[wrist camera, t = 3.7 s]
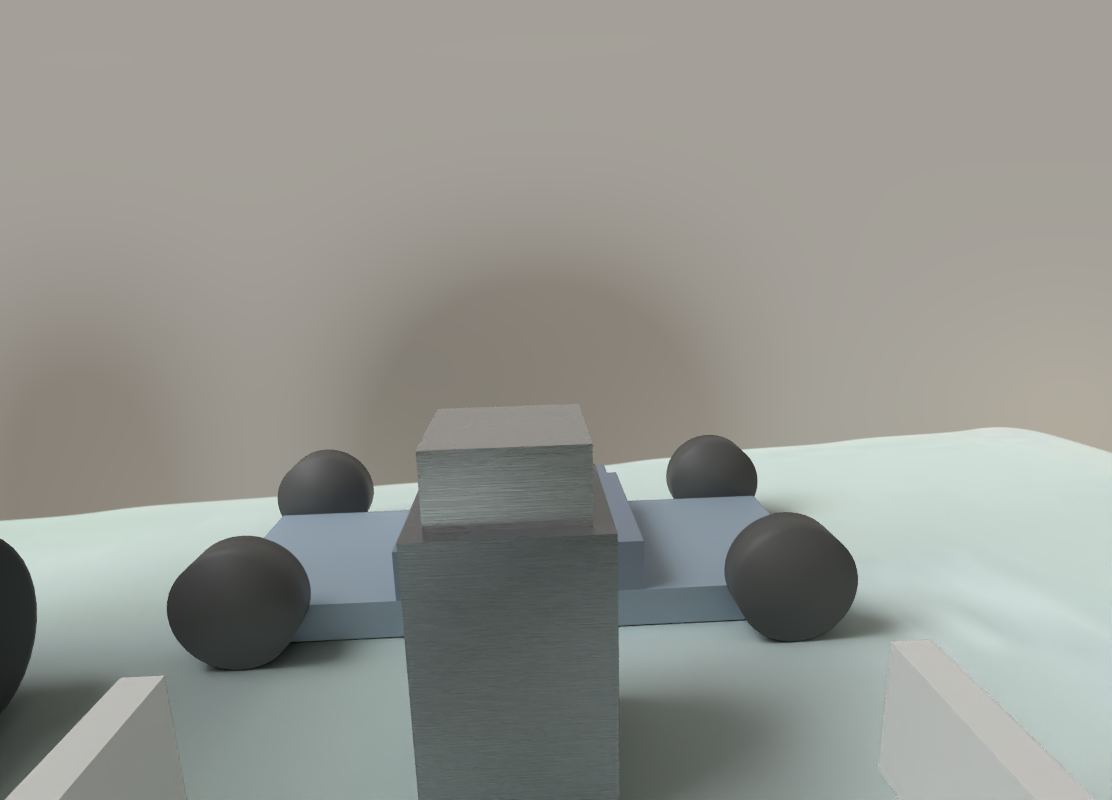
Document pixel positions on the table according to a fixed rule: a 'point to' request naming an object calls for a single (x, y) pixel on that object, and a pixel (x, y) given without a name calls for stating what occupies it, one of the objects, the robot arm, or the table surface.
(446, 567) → the capped grey pillar
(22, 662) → the black arched housing
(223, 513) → the table surface
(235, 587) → the chassis
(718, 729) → the table surface
